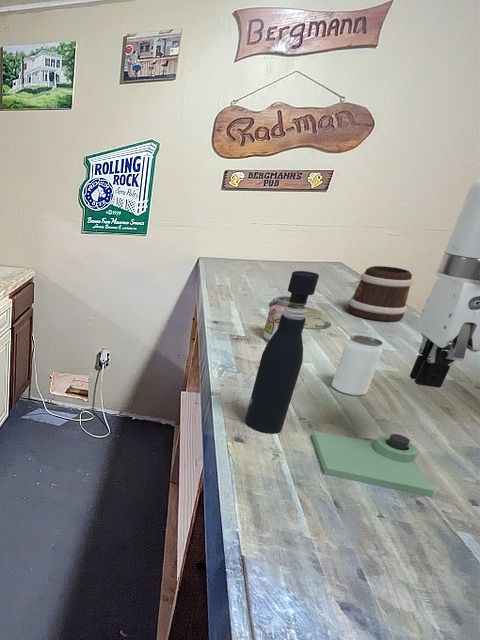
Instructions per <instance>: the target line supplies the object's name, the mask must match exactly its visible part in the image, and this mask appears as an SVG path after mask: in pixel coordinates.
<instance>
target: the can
mask: <svg viewBox="0 0 480 640" xmlns="http://www.w3.org/2000/svg"><path fill="white" fill-rule="evenodd" d="M382 353H383V341H381V340H380V339H378V338H375V337H371V336H367V335H358V334H357V335H350V337H349V339H348V340H347V341H346V342H345V345H344V347H343V350H342V352H341V356H340V358H339V361H338V364H337V367H336V370H335V373H334V377H333V380H332V382H331V386H332V388H333V390H335V389H336V390H335V391H337V392H339V393H341V394H344V395H348V396H353V397H354V396H355V397H361V396H364V395H366V394H367V393H368V390H369V388H370V385H371V382H372V380H373V378H374V375H375V372H376V370H377V367H378V364H379V362H380V359H381V357H382Z"/></svg>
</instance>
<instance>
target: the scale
mask: <svg viewBox="0 0 480 640" xmlns="http://www.w3.org/2000/svg"><path fill="white" fill-rule="evenodd" d="M389 438H390V435H379V436H378V437H377V438H376V439H375V441H370V440H366V439H365V440H364V439H361V438H354V437H349V436H343V435H338V434H333V433H328V432H322V431H317V430H313V431H312V434H311V439H312V442H313V445H314V448H315V452H316V454H317V457H318V460H319V462H320V465H321V468H322V471H323V474H324V475H325V476H330V477H335V478H338V479H339V478H340V479H342V480H343V479H344V480H348V481H353V482H357V483H362V484H367V485H371V486H376V487H380V488H385V489H391V490H393V491H394V490H395V491H399V492H404V493H407V494H408V493H409V494H413V495H418V496H421V497H422V496H423V497H427V498H432V496H433V495H434V492H435V490H434V488H433V486H432V485H431V484H430V482H429V480H428V479H427V477H426V475H425V474H424V473H423V471H422V470H421V468H420V467H419V465H418V464H417V462H416V461H415V460H416V459H417V456H418V454H419V449H418V447H416V445H414V444H413V443H411V442H409V445H408V447H407V449H406V450H404V451H403V450H398V449H395V448H392V447H390V446H389V445H387V442H388V440H389Z"/></svg>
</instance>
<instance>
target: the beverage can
mask: <svg viewBox="0 0 480 640" xmlns="http://www.w3.org/2000/svg"><path fill="white" fill-rule="evenodd" d="M290 297H291V296H286V295H280V296H276V297H275V298H273V299H272V300H271V301H269V303H268V307H269V311H268V315H267V319H266V323H265V327H264V331H263V333H262V335H263V338H264V340H265V341H267V342H269V340H270V339H271V337H272V336H273V335H274V333H275V332H276V331H277V329H278V325H279V322H280V318H281V315H283V314H284V311H285V307H286V305H288V304H290V303H289V300H290Z"/></svg>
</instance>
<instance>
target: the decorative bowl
mask: <svg viewBox="0 0 480 640" xmlns="http://www.w3.org/2000/svg"><path fill="white" fill-rule="evenodd" d="M305 307H306V311H307V312H306V313H305V315H306V316H305V317H304V318H305V319H306V321H305V324H304V327H303V329H308V330H309V329H310V330H324V329H328V328H330V327H331V326H332V323H331V319H330V318H329V317H328V316H327V315H325V314H324V313H322V311H321V310H319V309H317V308H313V307H310V306H305Z"/></svg>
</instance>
